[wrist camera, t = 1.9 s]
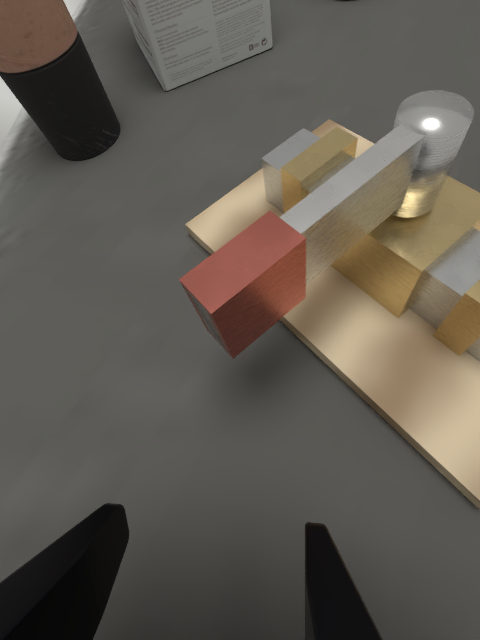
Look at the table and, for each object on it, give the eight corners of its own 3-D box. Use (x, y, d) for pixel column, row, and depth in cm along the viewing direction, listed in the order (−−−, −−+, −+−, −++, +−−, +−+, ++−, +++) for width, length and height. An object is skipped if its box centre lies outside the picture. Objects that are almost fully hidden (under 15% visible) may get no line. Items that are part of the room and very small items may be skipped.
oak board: (651, 314, 21) (669, 305, 20) (477, 508, 19) (488, 508, 18) (328, 131, 33) (329, 119, 32) (189, 234, 30) (185, 224, 29)
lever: (402, 168, 21) (429, 77, 16) (449, 194, 19) (491, 103, 15) (203, 328, 18) (171, 271, 14) (242, 370, 17) (220, 323, 12)
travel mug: (40, 149, 38) (-183, -150, 21) (90, 106, 41) (-74, -197, 23) (86, 172, 36) (-127, -153, 18) (137, 124, 38) (-8, -207, 20)
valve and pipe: (562, 325, 21) (634, 276, 16) (495, 394, 20) (553, 362, 15) (312, 166, 30) (314, 104, 25) (257, 208, 28) (248, 151, 24)
